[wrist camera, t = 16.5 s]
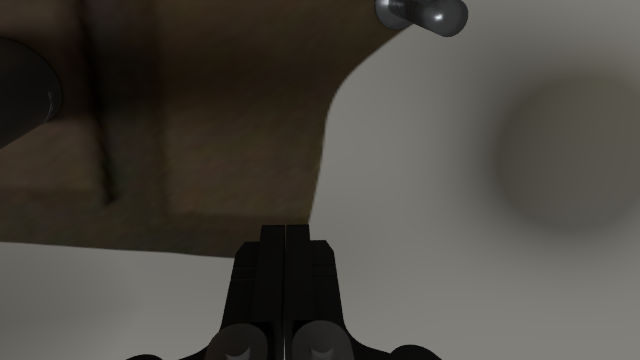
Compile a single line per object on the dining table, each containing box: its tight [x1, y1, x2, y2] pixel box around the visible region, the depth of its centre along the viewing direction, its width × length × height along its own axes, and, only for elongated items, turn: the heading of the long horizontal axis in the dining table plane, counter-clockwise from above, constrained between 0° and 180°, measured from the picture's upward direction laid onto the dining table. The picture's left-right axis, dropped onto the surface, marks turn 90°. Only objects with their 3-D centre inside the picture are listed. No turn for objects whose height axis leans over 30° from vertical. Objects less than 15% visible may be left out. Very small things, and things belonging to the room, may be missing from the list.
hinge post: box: [375, 0, 468, 37], centre depth 30 cm, size 5×5×14 cm
